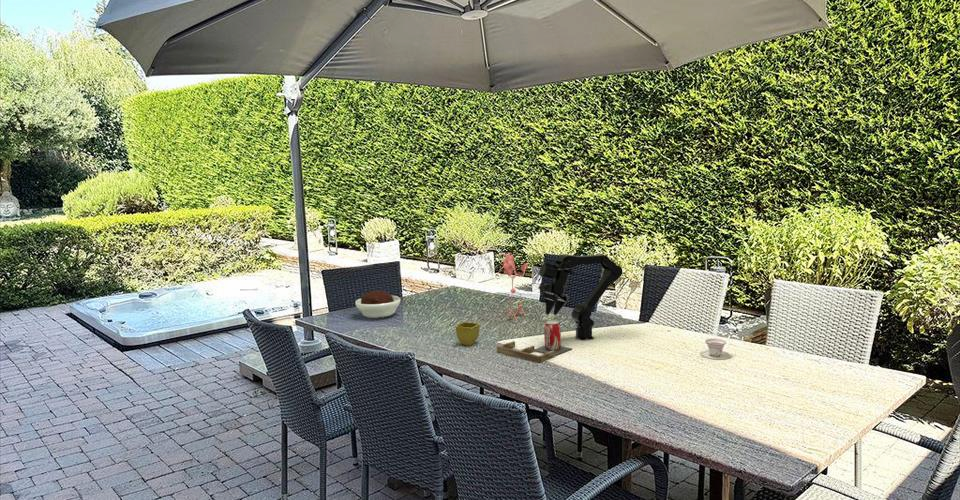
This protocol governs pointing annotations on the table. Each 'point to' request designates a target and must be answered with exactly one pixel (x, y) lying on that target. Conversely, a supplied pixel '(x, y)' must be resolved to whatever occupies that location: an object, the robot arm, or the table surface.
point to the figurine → (508, 268)
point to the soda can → (552, 335)
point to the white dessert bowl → (377, 304)
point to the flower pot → (467, 332)
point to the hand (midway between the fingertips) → (550, 314)
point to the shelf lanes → (524, 352)
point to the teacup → (715, 349)
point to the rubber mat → (557, 352)
